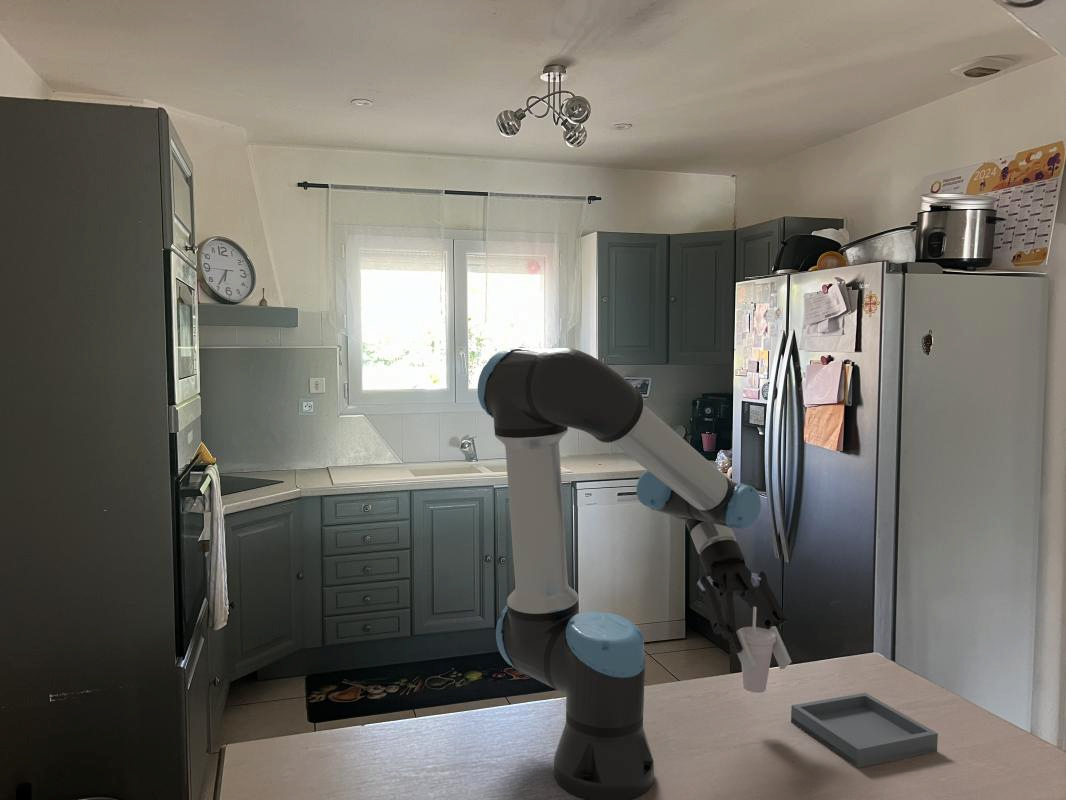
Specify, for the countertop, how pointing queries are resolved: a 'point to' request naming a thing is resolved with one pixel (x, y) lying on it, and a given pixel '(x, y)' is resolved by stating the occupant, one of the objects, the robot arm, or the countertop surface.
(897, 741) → the tray
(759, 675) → the smoothie
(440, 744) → the countertop surface
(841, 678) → the countertop surface
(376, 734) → the countertop surface
